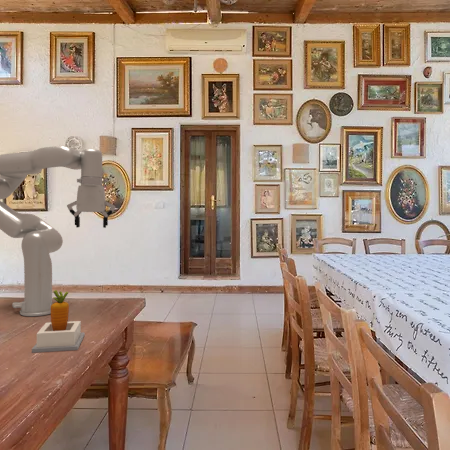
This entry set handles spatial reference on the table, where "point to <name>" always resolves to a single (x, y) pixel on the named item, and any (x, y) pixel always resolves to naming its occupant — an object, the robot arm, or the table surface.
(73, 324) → the holder
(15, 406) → the table surface
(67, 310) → the carrot
